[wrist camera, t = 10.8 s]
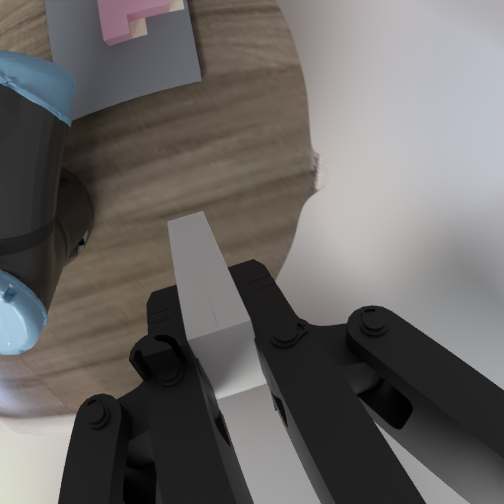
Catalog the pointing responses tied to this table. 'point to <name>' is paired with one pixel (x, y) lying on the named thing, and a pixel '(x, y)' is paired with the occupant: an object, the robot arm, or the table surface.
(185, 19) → the board
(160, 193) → the table surface
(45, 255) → the robot arm
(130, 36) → the t block
